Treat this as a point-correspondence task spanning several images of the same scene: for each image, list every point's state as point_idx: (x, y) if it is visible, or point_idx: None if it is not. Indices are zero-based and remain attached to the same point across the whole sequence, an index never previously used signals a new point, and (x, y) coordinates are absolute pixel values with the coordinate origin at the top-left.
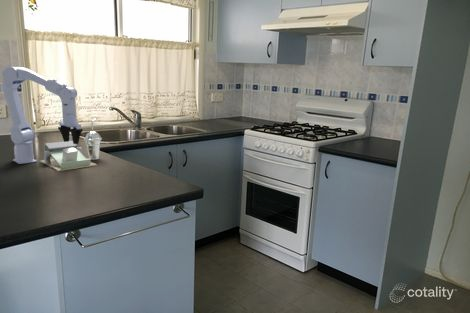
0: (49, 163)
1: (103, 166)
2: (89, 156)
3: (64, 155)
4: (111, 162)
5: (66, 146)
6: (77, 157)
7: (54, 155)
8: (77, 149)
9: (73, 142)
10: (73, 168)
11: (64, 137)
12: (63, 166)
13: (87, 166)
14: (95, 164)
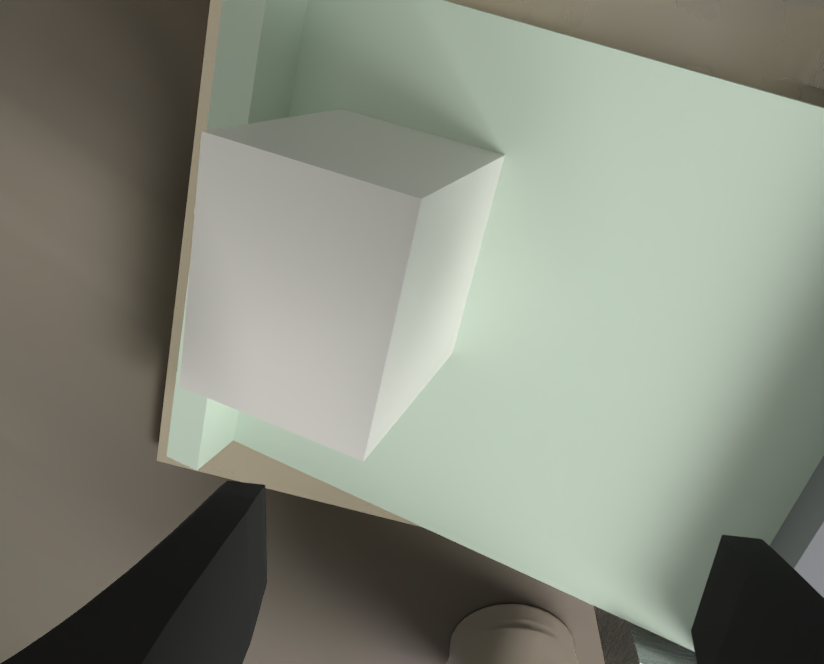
0: (806, 51)
1: (54, 461)
2: (523, 634)
3: (372, 148)
4: None
5: (812, 553)
6: (426, 417)
7: (759, 144)
8: (669, 639)
9: (224, 501)
10: (201, 123)
11: (783, 648)
12: None
13: (176, 336)
14: (160, 446)
